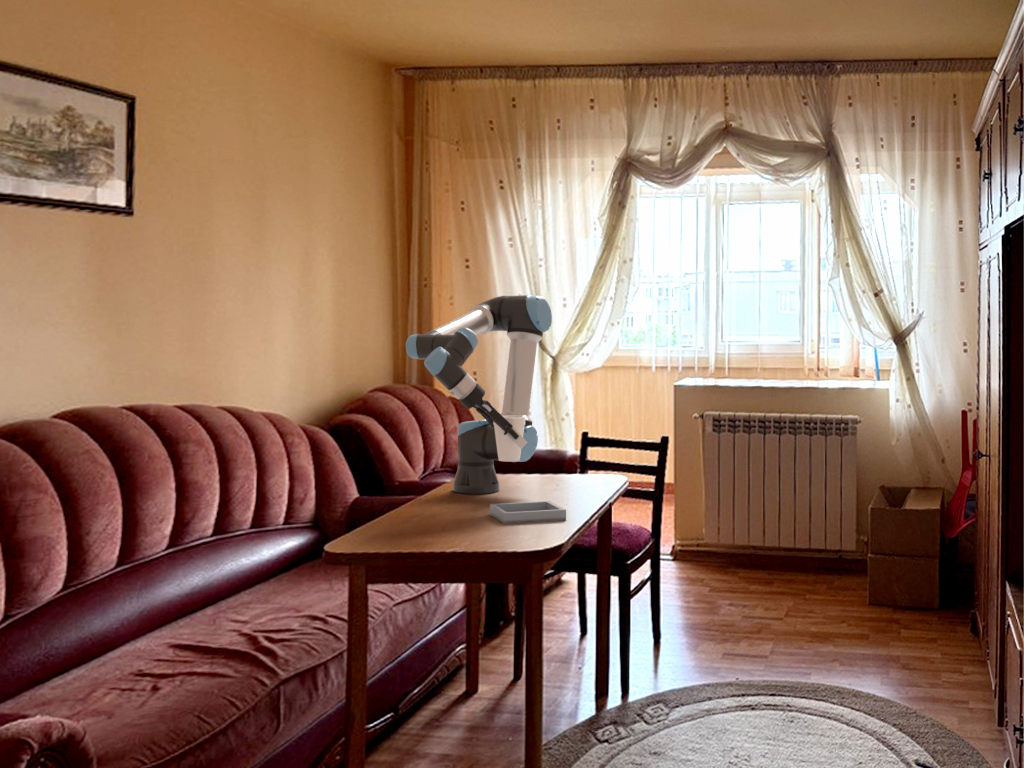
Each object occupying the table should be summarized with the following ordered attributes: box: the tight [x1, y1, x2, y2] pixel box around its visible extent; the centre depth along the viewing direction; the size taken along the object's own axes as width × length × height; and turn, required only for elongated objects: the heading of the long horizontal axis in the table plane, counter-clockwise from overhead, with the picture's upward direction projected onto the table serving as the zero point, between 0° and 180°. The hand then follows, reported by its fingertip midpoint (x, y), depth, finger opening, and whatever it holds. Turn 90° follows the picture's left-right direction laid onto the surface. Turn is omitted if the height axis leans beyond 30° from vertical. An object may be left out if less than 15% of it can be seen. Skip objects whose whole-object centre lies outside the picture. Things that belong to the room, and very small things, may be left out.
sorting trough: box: [489, 500, 567, 525], centre depth 323 cm, size 15×18×3 cm
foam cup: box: [493, 415, 525, 463], centre depth 338 cm, size 10×9×13 cm
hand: (519, 443), depth 339 cm, fingers closed on foam cup, 9 cm apart
